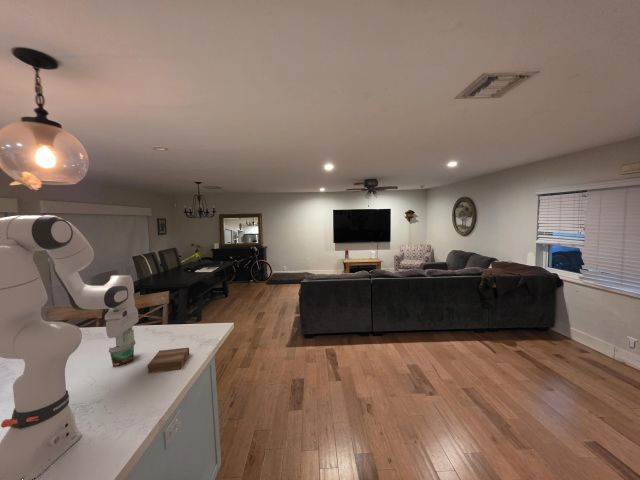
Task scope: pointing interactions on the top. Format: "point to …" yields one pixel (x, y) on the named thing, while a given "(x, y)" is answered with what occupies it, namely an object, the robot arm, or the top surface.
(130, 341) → the sage block
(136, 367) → the top surface
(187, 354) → the walnut base
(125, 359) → the food container
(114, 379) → the top surface
